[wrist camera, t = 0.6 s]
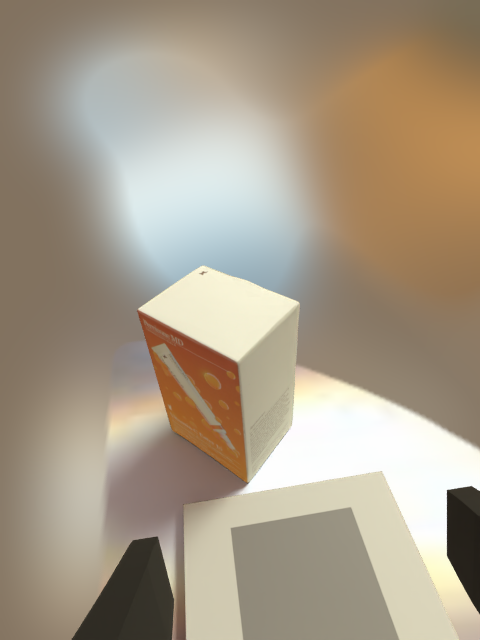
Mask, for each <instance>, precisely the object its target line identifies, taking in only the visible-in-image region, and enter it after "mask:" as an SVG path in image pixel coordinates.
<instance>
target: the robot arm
mask: <svg viewBox="0 0 480 640" xmlns="http://www.w3.org/2000/svg"><path fill="white" fill-rule="evenodd" d="M447 557H448V559H449V561H450V562H451V564H452V566H453V568H454V570H455V572H456V574H457V576H458V578H459V580H460V581H461V583H462V585H463V587H464V589H465V590H466V592H467V594H468V596H469V598H470V599H471V601H472V603H473V605H474V606H475V608H476V609H477V611H478V612H479V614H480V491H479V490H477V489H475V488H474V487H472V486H470V487H463V488H457V489H451V490H447ZM173 609H174V598H173V594H172V590H171V587H170V583H169V579H168V575H167V571H166V567H165V563H164V559H163V555H162V551H161V548H160V544H159V540H158V537H152V538H146V539H139V540H133V541H132V543H131V544H130V545H129V547H128V549H127V550H126V552H125V554H124V555H123V557H122V559H121V560H120V562H119V564H118V566H117V567H116V569H115V571H114V572H113V574H112V576H111V577H110V579H109V581H108V582H107V584H106V586H105V587H104V589H103V591H102V592H101V594H100V596H99V597H98V599H97V600H96V602H95V604H94V605H93V607H92V609H91V610H90V612H89V613H88V615H87V616H86V618H85V619H84V621H83V623H82V624H81V626H80V627H79V629H78V631H77V632H76V634H75V636H74V637H73V638H72V640H172V628H173Z"/></svg>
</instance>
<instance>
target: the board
mask: <svg viewBox="0 0 480 640" xmlns="http://www.w3.org/2000/svg"><path fill="white" fill-rule="evenodd" d="M183 517H184V564H185V612H186V640H459V638H458V636H457V633H456V631H455V629H454V627H453V625H452V623H451V620H450V618H449V616H448V614H447V612H446V610H445V607H444V605H443V603H442V601H441V599H440V597H439V594H438V592H437V590H436V588H435V586H434V583H433V581H432V579H431V577H430V575H429V573H428V570H427V568H426V566H425V564H424V562H423V560H422V557H421V555H420V553H419V551H418V549H417V547H416V544H415V542H414V540H413V538H412V536H411V533H410V531H409V529H408V527H407V525H406V523H405V520H404V518H403V516H402V514H401V512H400V510H399V507H398V505H397V503H396V501H395V499H394V497H393V494H392V492H391V490H390V488H389V486H388V484H387V481H386V479H385V477H384V475H383V473H382V471H380V472H374V473H368V474H362V475H356V476H350V477H344V478H338V479H332V480H326V481H320V482H314V483H308V484H302V485H297V486H291V487H285V488H279V489H273V490H267V491H261V492H255V493H249V494H243V495H237V496H231V497H225V498H219V499H213V500H207V501H201V502H195V503H189V504H183Z"/></svg>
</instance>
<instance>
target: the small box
mask: <svg viewBox="0 0 480 640" xmlns="http://www.w3.org/2000/svg"><path fill="white" fill-rule="evenodd" d="M299 306H300V304H299V302H297V301H295V300H292V299H290V298H287V297H284V296H282V295H279V294H277V293H275V292H272V291H269V290H267V289H264V288H262V287H260V286H258V285H255V284H253V283H251V282H249V281H246V280H243V279H240V278H236V277H233V276H230V275H227V274H224V273H222V272H219V271H216V270H214V269H211V268H208V267H206V266H201V267H200V268H198V269H196V270H195V271H193V272H191V273H190V274H188V275H187V276H185V277H184V278H182V279H181V280H179V281H178V282H176V283H175V284H173V285H172V286H171V287H169V288H168V289H166V290H165V291H163V292H162V293H160V294H159V295H157V296H156V297H154V298H153V299H152V300H150V301H149V302H147V303H146V304H145V305H143V306H142V307H140V308H139V309H138V310H137V312H138V314H139V318H140V321H141V325H142V328H143V331H144V335H145V339H146V342H147V346H148V349H149V353H150V356H151V359H152V363H153V366H154V370H155V373H156V377H157V380H158V383H159V387H160V390H161V394H162V397H163V401H164V404H165V408H166V411H167V415H168V418H169V422H170V425H171V428H172V430H173V431H174V432H175V433H177V434H179V435H180V436H182V437H183V438H185V439H186V440H188V441H189V442H191V443H192V444H194V445H195V446H197V447H198V448H199V449H201V450H202V451H204V452H205V453H207V454H208V455H209V456H211V457H212V458H213V459H215V460H216V461H218V462H219V463H220V464H222V465H223V466H224V467H226V468H227V469H229V470H230V471H231V472H233V473H234V474H235V475H237V476H238V477H239V478H241V479H242V480H243V481H245V482H246V483H249V482H250V481H251V479H252V478H253V477H254V475H255V474H256V473H257V471H258V470H259V469H260V467H261V466H262V465H263V463H264V462H265V461H266V459H267V458H268V457H269V455H270V454H271V453H272V451H273V450H274V449H275V447H276V446H277V445H278V443H279V442H280V441H281V439H282V438H283V437H284V435H285V434H286V433H287V431H288V430H289V429H290V428H291V426H292V418H293V403H294V387H295V367H296V351H297V334H298V317H299Z"/></svg>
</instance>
